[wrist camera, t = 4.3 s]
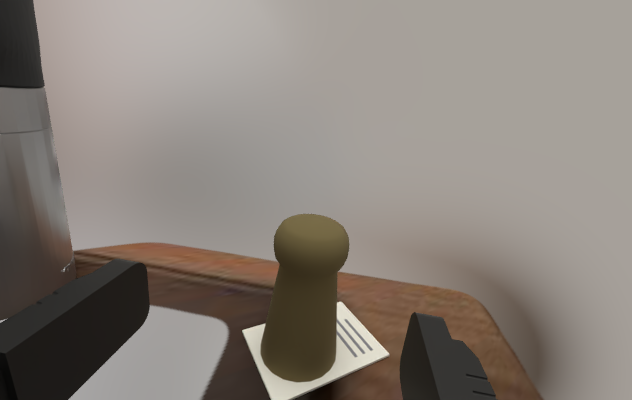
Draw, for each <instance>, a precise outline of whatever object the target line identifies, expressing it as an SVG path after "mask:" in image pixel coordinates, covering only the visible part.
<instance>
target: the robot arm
mask: <svg viewBox="0 0 632 400" xmlns="http://www.w3.org/2000/svg"><path fill="white" fill-rule="evenodd" d="M149 307H150V305H149V292H148V279H147V269H146V266H145V265H144V264H143V263H139V262H134V261H128V260H123V259H115V260H112V261H111V262H109V263H107V264H106V265H104V266H102V267H101V268H99V269H98V270H96V271H94V272H93V273H90V274H88V275H85V276H82V277H80V278H77V279H76V268H75V258H74V253H73V250H72V245H71V239H70V232H69V226H68V220H67V215H66V208H65V203H64V197H63V191H62V186H61V179H60V173H59V168H58V162H57V156H56V150H55V145H54V139H53V133H52V127H51V121H50V115H49V109H48V103H47V98H46V92H45V88H44V80H43V74H42V67H41V57H40V46H39V39H38V31H37V25H36V18H35V12H34V4H33V0H0V320H4V319H7V318H8V319H7V320H5V321H3V322H2V323H0V400H68V399H69V398H70V397H71V396H72V395H73V394H74V393H75V392H76V391H77V390H78V389H79V388H80V387H81V386H82V385H83V384H84V383H85V382H86V381H87V380H88V379H89V378H90V377H91V376H92V375H93V374H94V373H95V372H96V371H97V370H98V369H99V368H100V367H101V366H102V365H103V364H104V363H105V362H106V361H107V360H108V359H109V358H110V357H111V356H112V355H113V354H114V353H115V352H116V351H117V350H118V349H119V348H120V347H121V346H122V345H123V344H124V343H125V342H126V341H127V340H128V339H129V338H130V337H131V336H132V335H133V334H134V333H135V332H136V331H137V330H138V329H139V328H140V327H141V326H142V325H143V323H144V322H145V320H146V318H147V316H148V313H149ZM400 382H401V389H402V396H403V400H497V399H496V398H495V396H496V395H495V393H494V391H493V389H492V386H491V384H490V382H488V381H487V376H486V374H485V372H484V370H483V367H482V365H481V363H480V361H479V359H478V358H477V357H476V356H475V354H474V353H473V352H472V351H471V350H470V349H469V348H468V347H467V346H466V344H465V343H464V342H463V341H459V340H454V339H451V336H450V334H449V331H448V329H447V326H446V324H445V321H444V319H443V318H442V317H437V316H432V315H426V314H421V313H415V312H414V313H413V314H412V315H411V318H410V322H409V326H408V330H407V334H406V338H405V342H404V346H403V350H402V354H401V360H400Z"/></svg>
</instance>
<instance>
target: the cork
mask: <svg viewBox="0 0 632 400" xmlns="http://www.w3.org/2000/svg"><path fill="white" fill-rule="evenodd" d="M348 251H349V238H348V235H347V233H346V231H345V229H344V227H343V226H342V225H341V224H339V223H338V222H336V221H335V220H333V219H331V218H328V217H325V216H321V215H315V214H300V215H295V216H292V217H289V218H287V219H286V220H284V221H283V222H282V223H281V225H280V226H279V228H278V229H277V231H276V234H275V236H274V252H275V257H276V259H277V261H278V262H279V263H280V266H279V270H278V274H277V278H276V282H275V286H274V291H273V295H272V299H271V303H270V307H269V312H268V316H267V320H266V324H265V328H264V332H263V337H262V341H261V350H260V355H261V357H262V360H263V362H264V365H265V366H266V367H267V368H268V369H269V370H270V371H271V372H272V373H273V374H275V375H276V376H278V377H280V378H282V379H284V380H288V381H292V382H310V381H313V380H316V379H318V378H321V377H322V376H324V375H325V374H326V373H327V372H328V371H330V370H331V368H332V366H333V364H334V362H335V359H336V338H337V272H338V271H339V270H340V269H341V267H342V266H343V265H344V263H345V261H346V259H347V256H348Z"/></svg>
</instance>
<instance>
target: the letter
mask: <svg viewBox="0 0 632 400" xmlns="http://www.w3.org/2000/svg"><path fill="white" fill-rule="evenodd" d="M265 324H266V323H265ZM265 324H262V325H259V326H255V327H252V328H248V329H245V330H242V333H243V335H244V338H245V340H246V342H247V345H248V347H249V350H250V352H251V354H252V357H253V359H254V361H255V364H256V366H257V368H258V371H259V373H260V376H261V378H262V380H263V383H264V385H265V387H266V390H267V392H268V394H269V397H270V399H271V400H293V399H295V398H297V397H299V396H302V395H304V394H306V393H308V392H310V391H313V390H315V389H317V388H319V387H322V386H324V385H326V384H328V383H330V382H333V381H335V380H337V379H339V378H342V377H344V376H346V375H348V374H351V373H353V372H355V371H357V370H359V369H362V368H364V367H366V366H368V365H371V364H373V363H375V362H377V361H380V360H382V359H384V358H386V357H388V356H389V353H388V352H387V351H386V350H385V349H384V348H383V347H382V346H381V344H380V343H379V342H378V341H377V340H376V339H375V338H374V337H373V336H372V335H371V334H370V332H369V331H368V330H367V329H366V328H365V327H364V326H363V325H362V324H361V323H360V322H359V321H358V319H357V318H356V317H355V316H354V315H353V314H352V313H351V312H350V311H349V310H348V309H347V307H346V306H345V305H344V304H343V303H342V302H338V303H337V338H336V359H335V362H334V364H333V366H332V368H331V370H330V371H328V372H327V373H326V374H325V375H324V376H322V377H321V378H318V379H316V380H313V381H310V382H292V381H288V380H284V379H282V378H280V377H278V376H276V375H275V374H273V373H272V372H271V371H270V370H269V369H268V368H267V367H266V366H265V365H264V362H263V360H262V357H261V355H260V350H261V341H262V337H263V332H264V328H265Z"/></svg>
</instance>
